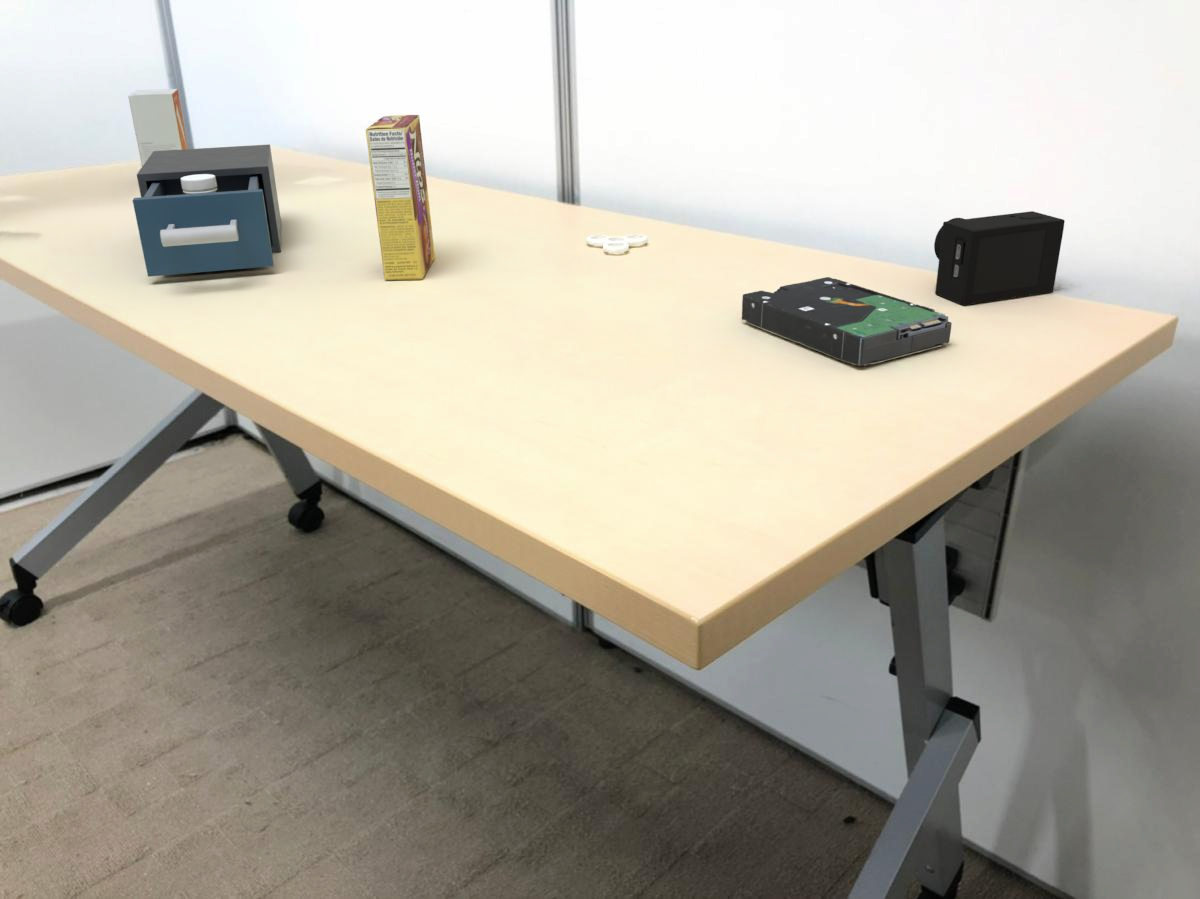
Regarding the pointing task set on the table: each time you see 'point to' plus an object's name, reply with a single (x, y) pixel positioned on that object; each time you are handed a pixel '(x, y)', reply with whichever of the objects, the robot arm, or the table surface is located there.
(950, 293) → the digital camera
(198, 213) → the blue drawer
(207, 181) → the pill bottle
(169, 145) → the small box
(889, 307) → the disk drive
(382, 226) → the candy box
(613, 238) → the fidget spinner
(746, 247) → the table surface
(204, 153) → the drawer cabinet
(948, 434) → the table surface
